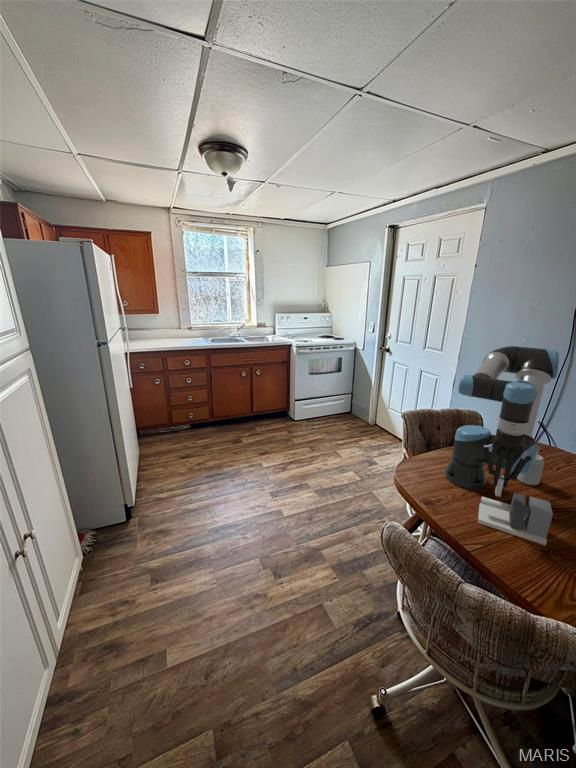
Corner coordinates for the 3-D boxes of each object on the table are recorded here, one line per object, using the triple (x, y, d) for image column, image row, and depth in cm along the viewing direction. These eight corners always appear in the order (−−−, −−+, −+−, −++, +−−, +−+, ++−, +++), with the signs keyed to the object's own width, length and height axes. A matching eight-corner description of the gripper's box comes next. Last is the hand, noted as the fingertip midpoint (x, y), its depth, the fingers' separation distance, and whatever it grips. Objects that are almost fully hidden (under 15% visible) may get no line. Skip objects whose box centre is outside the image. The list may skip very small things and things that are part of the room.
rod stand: (477, 522, 103) (483, 496, 100) (479, 506, 111) (484, 481, 108) (545, 545, 93) (553, 517, 90) (541, 525, 101) (549, 499, 98)
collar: (510, 526, 98) (514, 505, 96) (509, 512, 105) (513, 492, 103) (521, 530, 97) (526, 509, 95) (519, 515, 103) (524, 495, 101)
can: (511, 476, 129) (517, 451, 125) (528, 475, 129) (534, 450, 126) (526, 487, 121) (533, 460, 118) (543, 486, 122) (550, 459, 119)
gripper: (486, 430, 96) (475, 493, 103) (538, 440, 89) (522, 507, 96) (487, 422, 102) (476, 482, 109) (536, 431, 95) (520, 494, 102)
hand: (497, 493), depth 103 cm, fingers closed
